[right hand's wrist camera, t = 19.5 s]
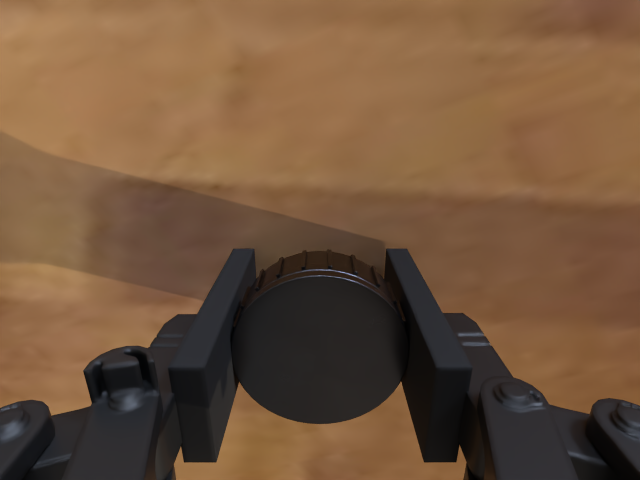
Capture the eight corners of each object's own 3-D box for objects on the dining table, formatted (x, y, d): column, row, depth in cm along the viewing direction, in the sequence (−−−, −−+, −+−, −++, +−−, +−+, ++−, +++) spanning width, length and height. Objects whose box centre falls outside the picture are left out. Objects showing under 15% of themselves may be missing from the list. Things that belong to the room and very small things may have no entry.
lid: (345, 407, 13) (349, 449, 12) (212, 345, 12) (197, 381, 11) (432, 297, 12) (450, 329, 10) (288, 217, 11) (283, 238, 9)
